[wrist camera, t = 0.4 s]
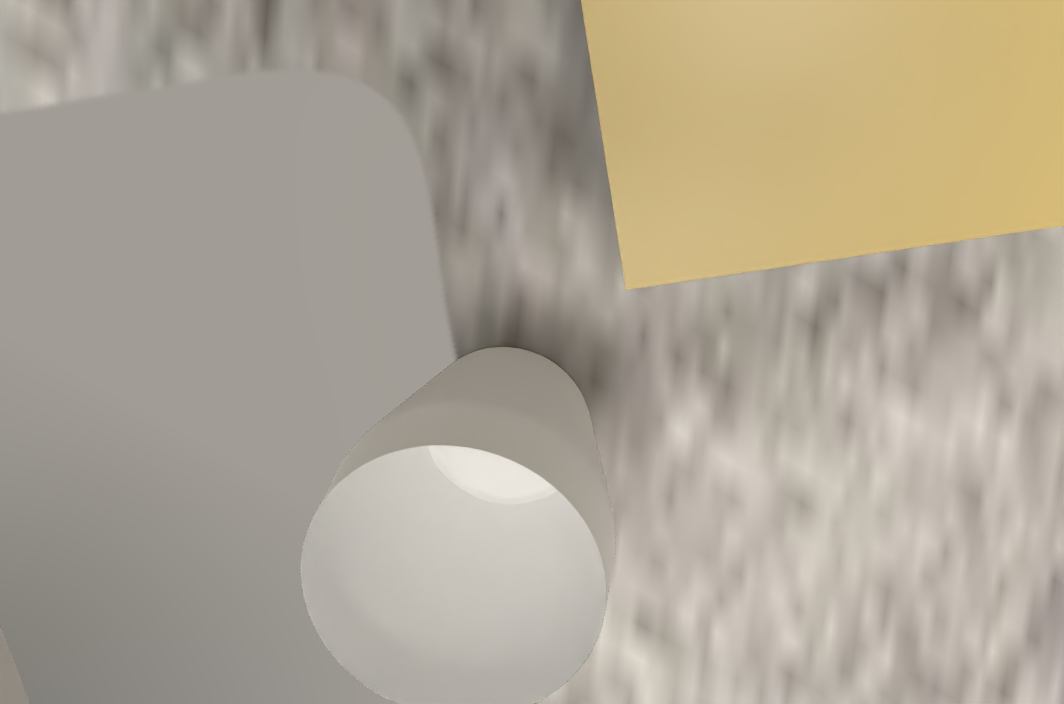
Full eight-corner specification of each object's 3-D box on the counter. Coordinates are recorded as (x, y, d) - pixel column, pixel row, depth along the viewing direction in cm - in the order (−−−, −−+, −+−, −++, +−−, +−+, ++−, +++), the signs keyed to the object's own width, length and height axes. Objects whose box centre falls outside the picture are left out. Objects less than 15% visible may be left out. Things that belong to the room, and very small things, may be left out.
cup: (352, 445, 40) (238, 610, 29) (475, 269, 37) (402, 374, 26) (535, 568, 41) (494, 775, 30) (669, 404, 38) (680, 564, 27)
